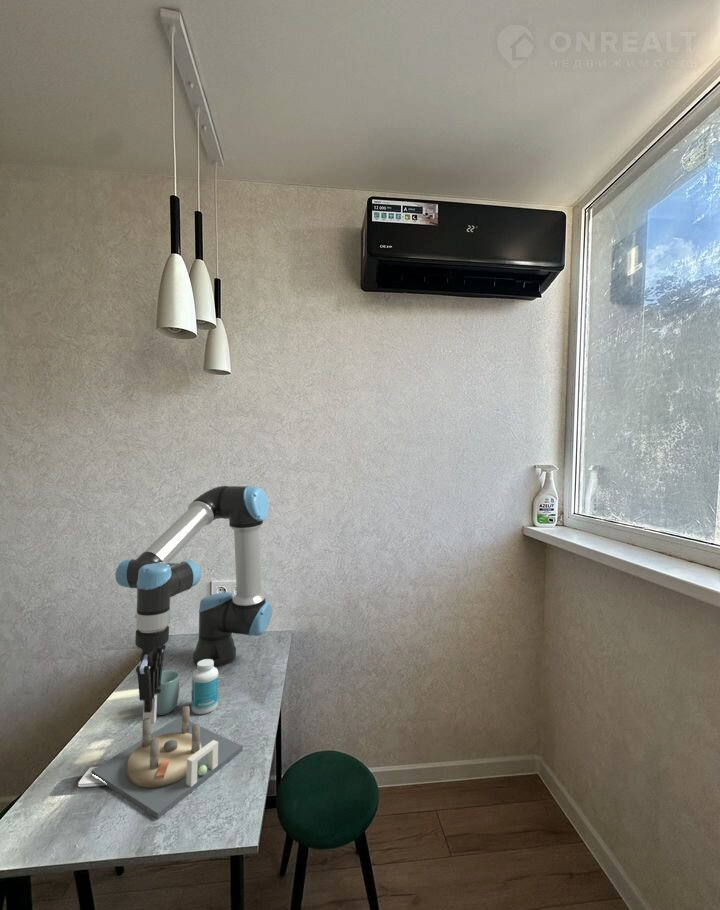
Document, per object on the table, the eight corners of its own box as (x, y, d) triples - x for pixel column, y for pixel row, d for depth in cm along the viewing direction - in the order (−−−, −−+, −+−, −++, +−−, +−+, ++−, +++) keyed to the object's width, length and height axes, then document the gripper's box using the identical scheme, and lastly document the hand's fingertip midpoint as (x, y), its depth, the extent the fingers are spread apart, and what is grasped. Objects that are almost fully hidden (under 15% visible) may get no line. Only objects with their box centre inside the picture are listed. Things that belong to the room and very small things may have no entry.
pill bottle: (223, 706, 128) (224, 660, 128) (202, 718, 121) (203, 670, 121) (206, 698, 131) (207, 654, 132) (185, 710, 125) (186, 664, 125)
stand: (179, 721, 120) (179, 696, 120) (243, 750, 108) (243, 723, 108) (91, 775, 99) (92, 746, 99) (158, 819, 87) (159, 786, 87)
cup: (167, 720, 120) (168, 685, 120) (142, 716, 122) (143, 681, 122) (183, 705, 128) (184, 671, 128) (160, 701, 129) (161, 668, 129)
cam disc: (158, 733, 112) (159, 702, 112) (215, 740, 110) (216, 709, 110) (111, 782, 95) (112, 746, 95) (177, 792, 93) (178, 755, 93)
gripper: (147, 617, 112) (144, 707, 112) (125, 638, 100) (121, 739, 99) (176, 617, 113) (173, 706, 113) (158, 638, 100) (155, 738, 100)
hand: (149, 722), depth 106 cm, fingers closed
